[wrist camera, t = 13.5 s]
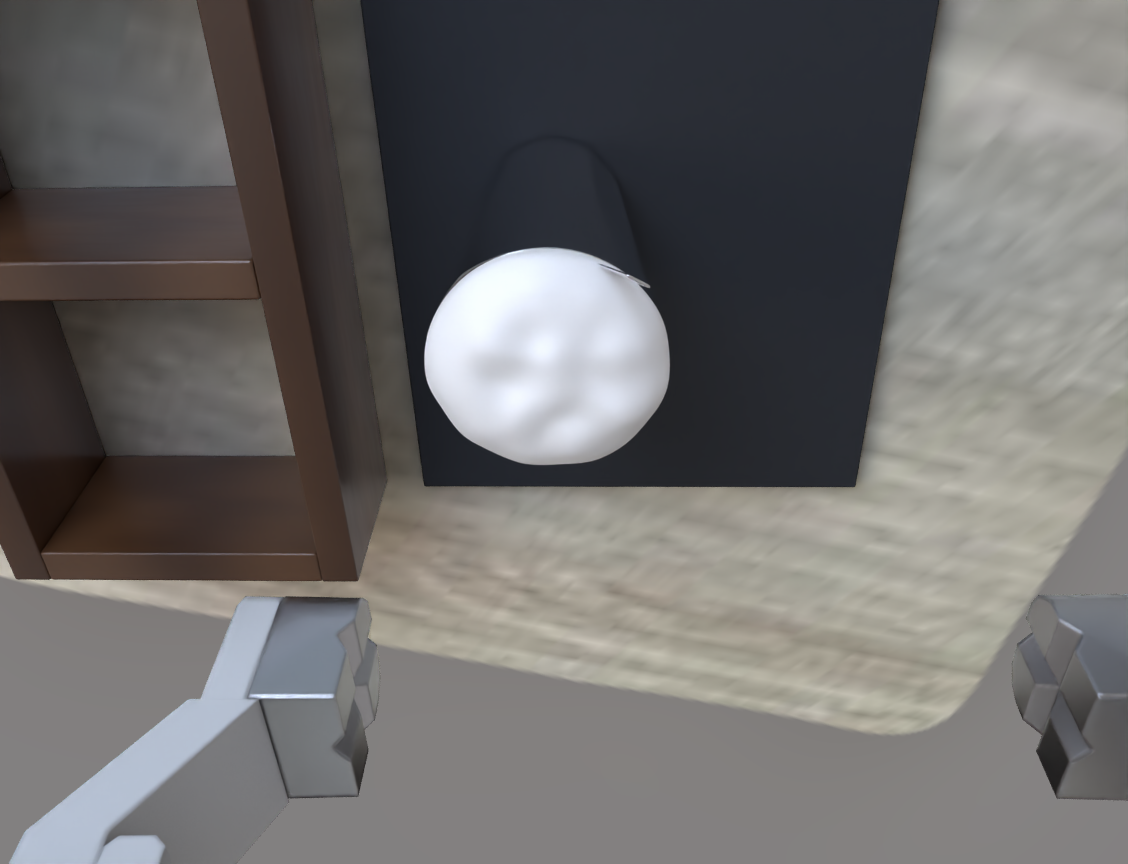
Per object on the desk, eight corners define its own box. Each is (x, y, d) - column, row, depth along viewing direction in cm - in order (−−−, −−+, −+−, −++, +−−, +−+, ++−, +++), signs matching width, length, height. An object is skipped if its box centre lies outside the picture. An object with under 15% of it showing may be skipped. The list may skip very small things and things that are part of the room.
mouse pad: (425, 479, 32) (424, 487, 31) (337, -210, 21) (332, -209, 21) (852, 479, 31) (855, 487, 31) (972, -228, 21) (979, -227, 20)
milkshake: (698, 137, 25) (760, 343, 17) (587, 308, 28) (593, 559, 19) (533, 41, 24) (511, 213, 15) (433, 230, 26) (370, 463, 18)
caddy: (83, 480, 32) (15, 579, 28) (-169, -201, 22) (-328, -184, 18) (387, 481, 32) (358, 582, 28) (278, -214, 21) (209, -199, 18)
